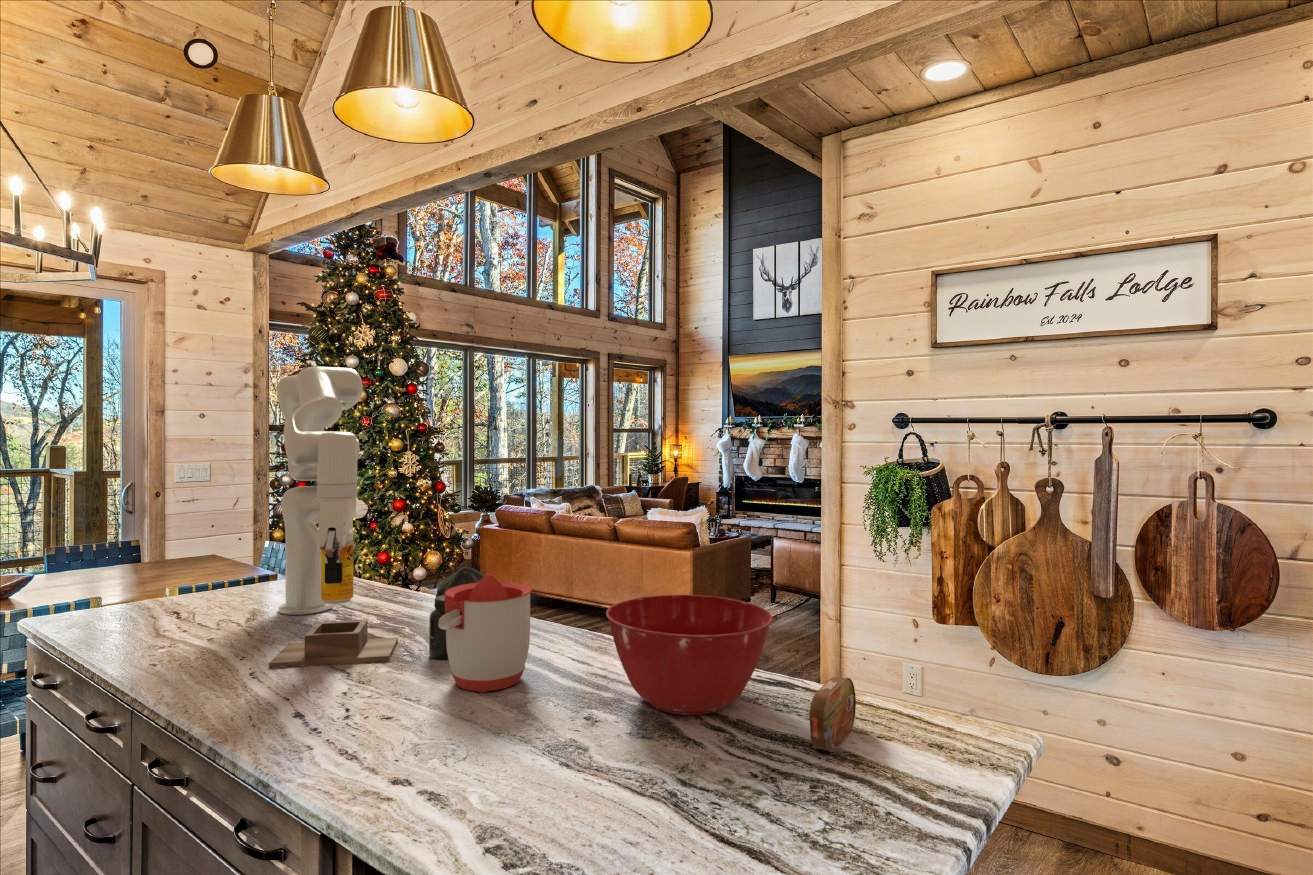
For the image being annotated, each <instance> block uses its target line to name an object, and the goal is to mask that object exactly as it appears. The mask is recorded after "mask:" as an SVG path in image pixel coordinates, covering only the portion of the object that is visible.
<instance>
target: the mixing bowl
mask: <svg viewBox="0 0 1313 875" xmlns="http://www.w3.org/2000/svg"><path fill="white" fill-rule="evenodd" d="M605 614H606V618H607V619H608V621H609V627H610V631H611V634H612V638H613V642H614V646H615V649H616V652H617V655H618V657H619V661H620V662H621V665H622V668H623V670H624V673H625V675H626V677H627V679H628V681H629V682H630V684H631V687H632V688H633V689H634V691H635V692H636V694H637V695H639V696H640V698H642V700H644V701H646V702H647V703H649V704H650V705H651V706H652V707H653V708H655V709H658V710H660V711H663V712H665V713H669V714H675V715H681V716H682V715H683V716H684V715H685V716H697V715H698V716H700V715H706V714H708V715H709V714H711V713H715V712H718V711H720V710H722V709H723V708H725V707H726V706H728V705H730V704H731V703H733V702H734V701H735V700H736V699H737V698H739V696H741V694H742V693H743V692H744V690H745V689H746V687H747V685H748V683H749V681H750V680H751V677H752V676H753V673H754V671H755V670H756V667H757V664H758V663H759V661H760V658H761V656H762V652H763V650H764V647H765V646H764V645H765V643H766V640H767V636H768V633H769V632H768V631H769V628H770V625H771V623H772V622H773V615H772V613H771V612H770V611H769V610H768V609H766V608H764V607H762V606H759V605H757V604H754V603H751V602H747V601H744V600H739V599H734V598H729V597H722V596H721V597H720V596H712V595H702V594H701V595H699V594H663V595H662V594H661V595H649V596H642V597H635V598H631V599H627V600H623V601H620V602H617V603H615V604H613V605H611V606H610V607H608V609H607V610H606V612H605Z"/></svg>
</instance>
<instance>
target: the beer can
mask: <svg viewBox="0 0 1313 875" xmlns="http://www.w3.org/2000/svg"><path fill="white" fill-rule="evenodd" d="M353 531H354V530H353ZM353 531H352V529H351V528H350V529H349V531H348V535H347V542H346V547H344V548H343V549H342V552H341V563H342V582H341V583H333V584H326V583H325V554H326V550H325V548H326V546H325V547H323V548H324V549H322V550H321V599H322V600H323V601H324V603H326V604H333V605H340V604H345V603H348V602H350V601H351V600H352V598H353V597H354V532H353ZM326 543H327V540H326ZM326 543H325V545H326ZM335 547H339V545H335V544H334V548H335ZM334 552H335V551H334ZM336 553H338V551H336Z"/></svg>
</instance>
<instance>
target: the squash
mask: <svg viewBox="0 0 1313 875" xmlns="http://www.w3.org/2000/svg"><path fill="white" fill-rule="evenodd" d="M485 575H486V574H485V573H482V572H480V571H479V570H477V569H475V568H473V567H470V566H464V567H461V568H460V569H458V570H456V571H455V572H453V573H451V574H450V575H449V576H447V577H446V578H445V579H444V580H443V581H442V582H441V584H440V585H439V586H438V588H437V591H436V595H435V598H436V597H438V596H442V595H445V592H446V591H447V590H448V589H450V588H453V587H456V586H459V585H464V584H470V583H478V582H479V581H480V580H481V579H482V578H483V577H484V576H485ZM435 609H436V608H435V607H434V610H435Z"/></svg>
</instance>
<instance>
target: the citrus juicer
mask: <svg viewBox="0 0 1313 875" xmlns="http://www.w3.org/2000/svg"><path fill="white" fill-rule="evenodd" d="M484 575H485V576H484V577H483V578H482V579H481V580H480V581H479V582H478V583H470V584H464V585H459V586H456V587H453V588H450V589H448V590H447V591H446V592H445V615H443V616H442V617H441V618H440V619H439V622H438V626H439V628H441V629H443V630H446V645H447V654H448V659H449V660H448V663H449V666H450V670H451V671H450V672H451V675H452V677H453V680H454V682H455V684H456V686H457V687H459V688H461V689H463V690H467V691H473V692H474V691H475V692H478V693H488V692H489V691H497V690H501V689H505V688H509V687H512V686H514V685H516V684H517V683H518V682H519V681H521V679H522V675H523V674H524V671H525V669H526V668H525V667H526V663H527V660H528V655H529V649H530V639H531V593H532V591H533V590H532V588H531V586H529V585H527V584H525V583H519V582H514V581H513V582H511V581H499V580H498V579H497V577H495V576H494V575H493V574H491V573H487V574H484Z"/></svg>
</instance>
